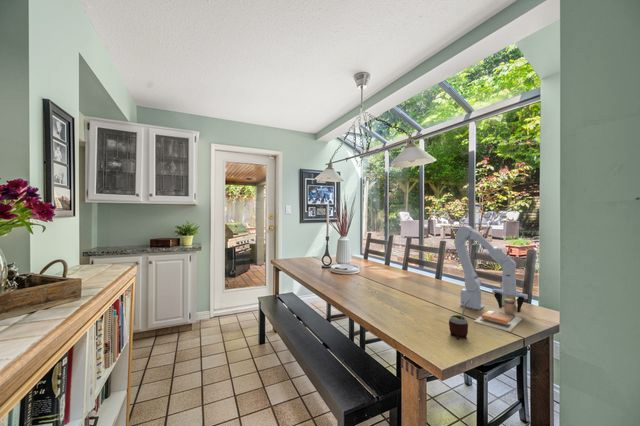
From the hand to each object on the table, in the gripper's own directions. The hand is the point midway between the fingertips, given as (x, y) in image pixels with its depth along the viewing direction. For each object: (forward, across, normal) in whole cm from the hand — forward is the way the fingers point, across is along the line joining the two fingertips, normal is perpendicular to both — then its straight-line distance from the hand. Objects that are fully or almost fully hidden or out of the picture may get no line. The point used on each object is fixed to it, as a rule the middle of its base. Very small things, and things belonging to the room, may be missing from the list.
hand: (509, 309), depth 134 cm
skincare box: (+2, -4, +14) cm, 15 cm away
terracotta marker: (+2, 0, 0) cm, 2 cm away
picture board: (+2, -1, -14) cm, 14 cm away
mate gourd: (+2, -7, -44) cm, 45 cm away
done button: (0, -1, -19) cm, 19 cm away
